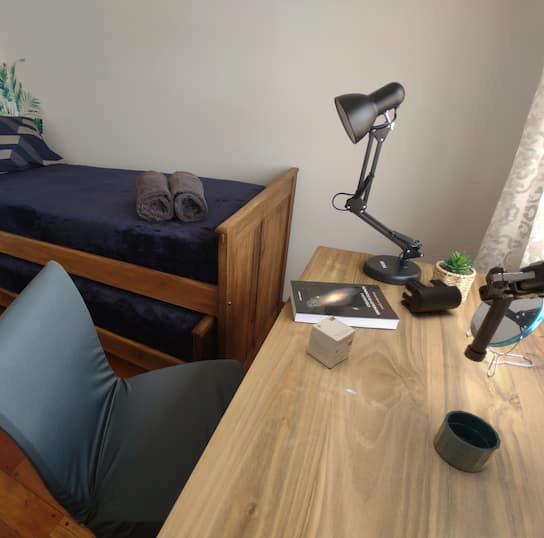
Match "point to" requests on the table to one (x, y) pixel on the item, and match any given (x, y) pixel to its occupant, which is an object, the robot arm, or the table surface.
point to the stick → (488, 329)
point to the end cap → (431, 296)
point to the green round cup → (466, 441)
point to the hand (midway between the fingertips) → (491, 294)
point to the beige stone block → (330, 341)
